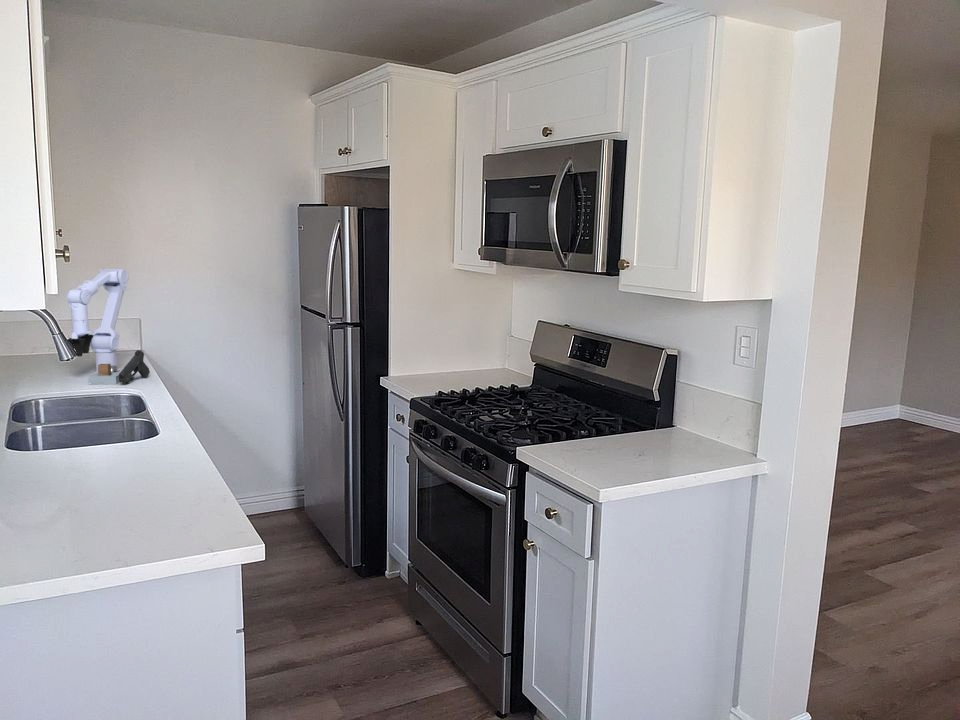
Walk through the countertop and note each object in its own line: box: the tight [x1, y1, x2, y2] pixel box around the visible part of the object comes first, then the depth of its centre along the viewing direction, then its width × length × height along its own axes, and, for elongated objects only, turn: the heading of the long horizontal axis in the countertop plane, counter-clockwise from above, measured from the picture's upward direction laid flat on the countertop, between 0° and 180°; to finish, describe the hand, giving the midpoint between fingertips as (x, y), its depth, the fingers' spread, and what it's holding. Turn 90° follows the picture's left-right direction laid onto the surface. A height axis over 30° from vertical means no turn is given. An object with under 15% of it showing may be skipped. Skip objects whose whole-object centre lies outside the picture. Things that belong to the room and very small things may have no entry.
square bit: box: [98, 364, 111, 376], centre depth 293 cm, size 4×4×7 cm
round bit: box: [111, 365, 119, 372], centre depth 301 cm, size 4×4×5 cm
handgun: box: [118, 349, 151, 385], centre depth 296 cm, size 2×17×12 cm, turn 174°
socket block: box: [87, 371, 121, 385], centre depth 294 cm, size 9×10×3 cm
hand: (82, 354), depth 297 cm, fingers open, 7 cm apart
